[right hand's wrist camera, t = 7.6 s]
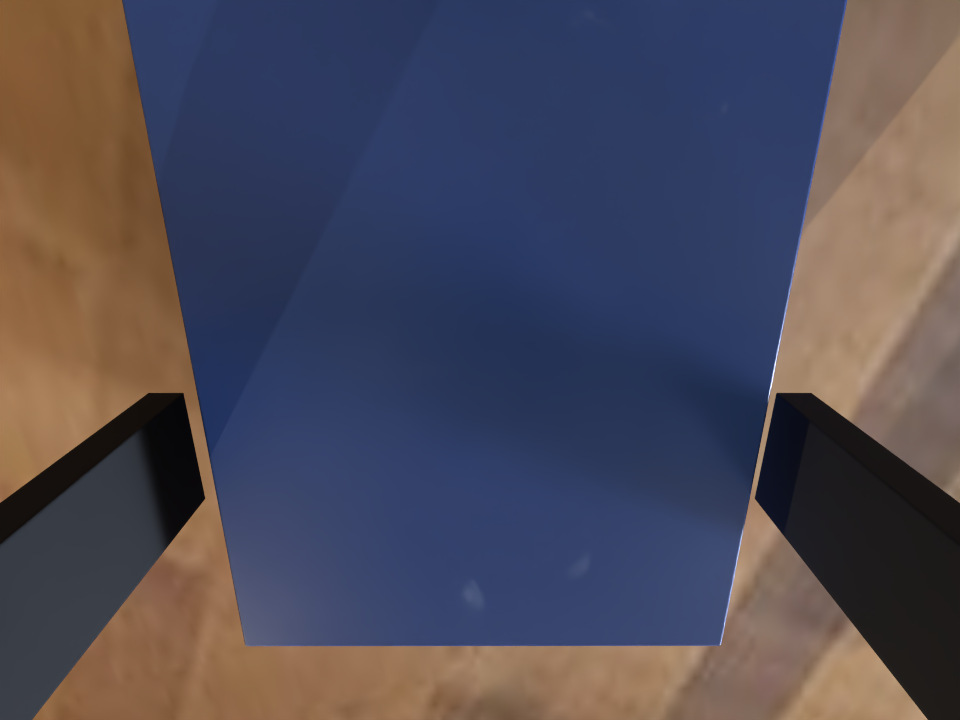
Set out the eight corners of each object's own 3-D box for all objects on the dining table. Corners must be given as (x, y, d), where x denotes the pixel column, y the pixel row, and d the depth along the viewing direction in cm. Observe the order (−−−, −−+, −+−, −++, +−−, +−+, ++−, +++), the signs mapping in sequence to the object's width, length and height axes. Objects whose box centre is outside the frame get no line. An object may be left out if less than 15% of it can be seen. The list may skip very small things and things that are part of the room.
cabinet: (273, -150, 14) (18, -523, 6) (691, -150, 14) (953, -523, 6) (335, 456, 20) (244, 647, 12) (628, 456, 20) (722, 647, 12)
